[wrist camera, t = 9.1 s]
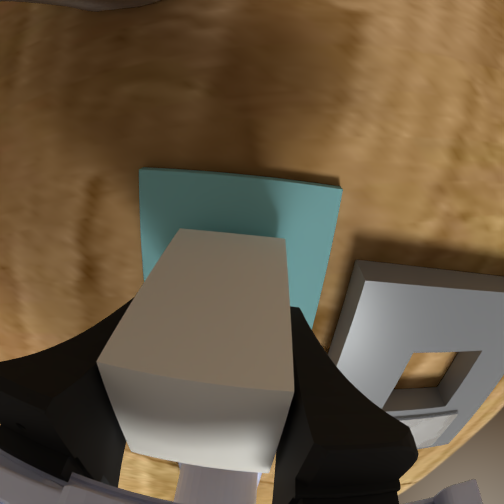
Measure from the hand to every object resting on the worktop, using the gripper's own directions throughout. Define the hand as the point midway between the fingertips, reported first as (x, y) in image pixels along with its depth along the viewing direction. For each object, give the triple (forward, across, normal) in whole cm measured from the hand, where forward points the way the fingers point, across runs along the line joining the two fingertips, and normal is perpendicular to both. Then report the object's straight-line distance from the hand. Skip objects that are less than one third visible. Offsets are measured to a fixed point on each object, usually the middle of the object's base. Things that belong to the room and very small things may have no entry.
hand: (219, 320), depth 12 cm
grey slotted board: (+4, -13, +7) cm, 15 cm away
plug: (+3, 0, 0) cm, 3 cm away
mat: (+4, 0, 0) cm, 4 cm away
